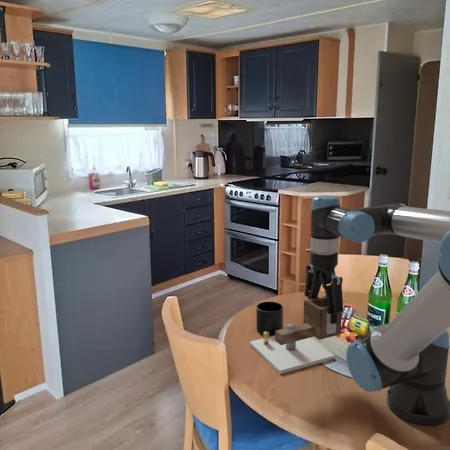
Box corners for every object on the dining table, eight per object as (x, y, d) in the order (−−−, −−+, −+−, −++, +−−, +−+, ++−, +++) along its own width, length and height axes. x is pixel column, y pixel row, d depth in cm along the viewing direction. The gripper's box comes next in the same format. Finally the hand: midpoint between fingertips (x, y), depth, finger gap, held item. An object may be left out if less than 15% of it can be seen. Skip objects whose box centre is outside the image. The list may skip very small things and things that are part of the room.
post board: (334, 358, 140) (335, 331, 138) (280, 374, 132) (280, 346, 130) (299, 332, 158) (299, 308, 156) (249, 345, 150) (249, 319, 148)
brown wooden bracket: (324, 323, 134) (325, 295, 132) (340, 334, 127) (341, 304, 125) (271, 337, 126) (271, 307, 124) (285, 348, 120) (285, 317, 118)
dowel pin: (269, 343, 148) (269, 332, 147) (265, 345, 147) (265, 334, 146) (267, 341, 150) (267, 330, 149) (262, 342, 149) (262, 331, 148)
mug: (275, 320, 169) (275, 297, 166) (286, 334, 157) (286, 310, 155) (251, 322, 167) (251, 300, 165) (260, 337, 155) (260, 313, 153)
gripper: (360, 258, 116) (356, 339, 121) (313, 241, 134) (312, 311, 139) (336, 263, 113) (333, 345, 118) (292, 244, 131) (291, 316, 136)
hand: (322, 327), depth 129 cm, fingers closed on brown wooden bracket, 8 cm apart
